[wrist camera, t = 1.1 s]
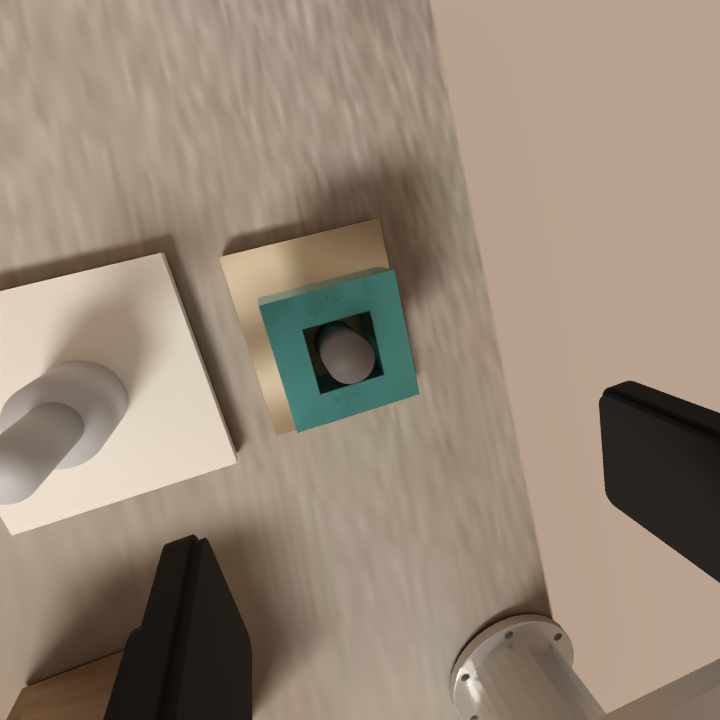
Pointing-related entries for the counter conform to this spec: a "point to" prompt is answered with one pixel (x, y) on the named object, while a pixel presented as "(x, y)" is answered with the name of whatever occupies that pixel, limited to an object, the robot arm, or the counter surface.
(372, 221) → the stand
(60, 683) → the tool caddy
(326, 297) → the teal square frame
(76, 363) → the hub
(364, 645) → the counter surface
